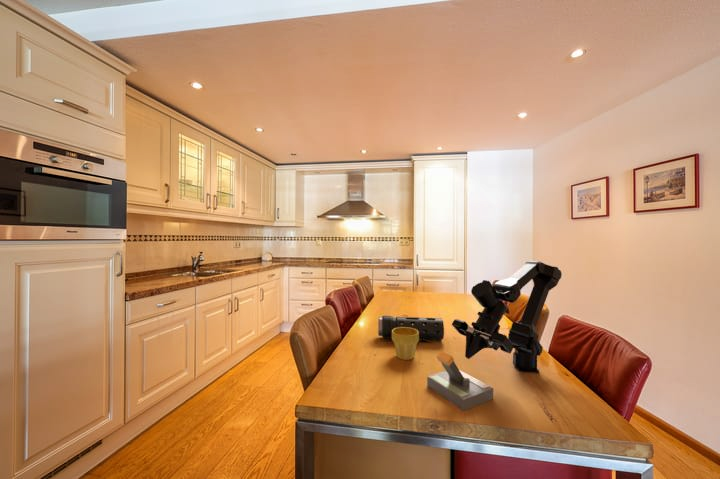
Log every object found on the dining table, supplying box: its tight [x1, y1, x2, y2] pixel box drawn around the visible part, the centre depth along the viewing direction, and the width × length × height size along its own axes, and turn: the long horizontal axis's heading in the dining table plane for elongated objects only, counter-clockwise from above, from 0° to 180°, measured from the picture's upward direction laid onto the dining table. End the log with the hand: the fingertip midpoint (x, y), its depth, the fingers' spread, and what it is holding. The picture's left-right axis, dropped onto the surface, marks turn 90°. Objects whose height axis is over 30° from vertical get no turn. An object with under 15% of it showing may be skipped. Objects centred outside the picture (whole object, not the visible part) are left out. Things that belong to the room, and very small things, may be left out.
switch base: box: [426, 369, 494, 412], centre depth 84 cm, size 12×14×5 cm
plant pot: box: [391, 327, 420, 361], centre depth 108 cm, size 10×10×10 cm
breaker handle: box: [436, 350, 464, 385], centre depth 82 cm, size 2×4×11 cm
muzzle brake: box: [377, 315, 445, 342], centre depth 126 cm, size 10×28×10 cm, turn 84°
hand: (466, 357), depth 85 cm, fingers closed
